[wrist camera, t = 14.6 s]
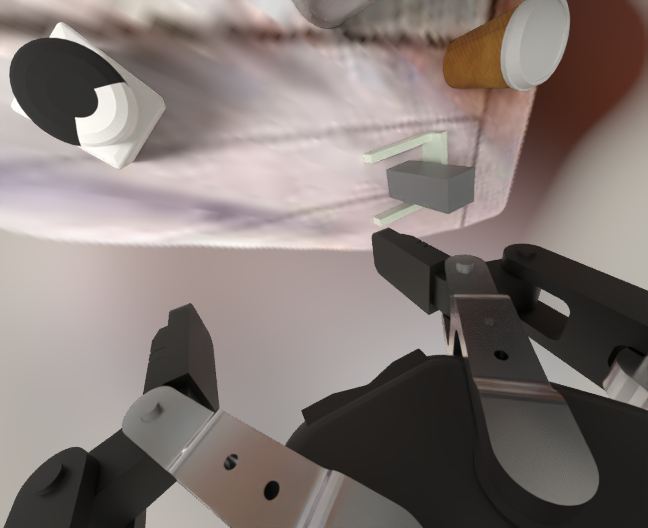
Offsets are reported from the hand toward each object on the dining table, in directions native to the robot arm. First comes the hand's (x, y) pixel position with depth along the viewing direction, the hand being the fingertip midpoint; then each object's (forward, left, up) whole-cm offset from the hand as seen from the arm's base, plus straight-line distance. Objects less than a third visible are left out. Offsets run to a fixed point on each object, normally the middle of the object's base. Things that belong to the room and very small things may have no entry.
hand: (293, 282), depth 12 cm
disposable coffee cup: (-30, +27, -27) cm, 48 cm away
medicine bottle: (-4, -11, -27) cm, 30 cm away
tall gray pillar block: (-11, +25, -27) cm, 39 cm away
